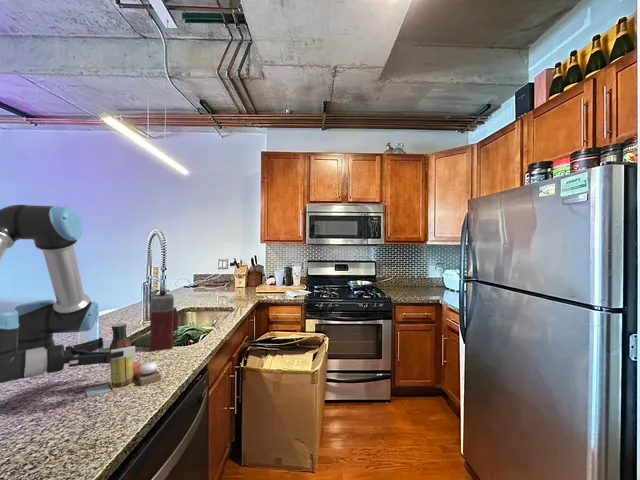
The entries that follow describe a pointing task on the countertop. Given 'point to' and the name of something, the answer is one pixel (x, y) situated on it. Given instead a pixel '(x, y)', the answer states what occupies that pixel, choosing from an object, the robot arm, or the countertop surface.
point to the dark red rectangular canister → (162, 321)
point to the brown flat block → (147, 378)
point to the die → (136, 368)
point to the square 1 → (97, 390)
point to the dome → (148, 367)
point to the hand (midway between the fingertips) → (130, 345)
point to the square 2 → (121, 386)
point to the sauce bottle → (121, 366)
